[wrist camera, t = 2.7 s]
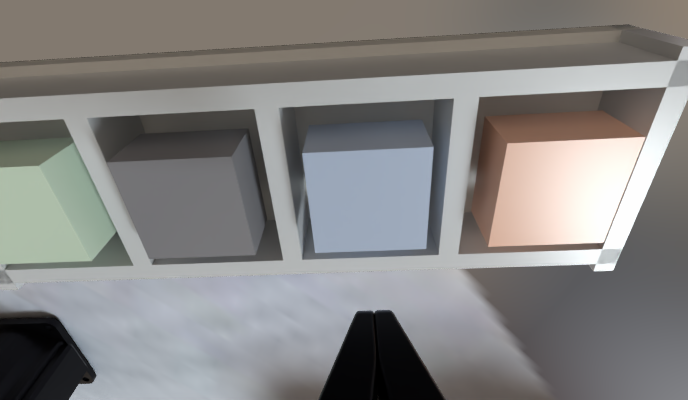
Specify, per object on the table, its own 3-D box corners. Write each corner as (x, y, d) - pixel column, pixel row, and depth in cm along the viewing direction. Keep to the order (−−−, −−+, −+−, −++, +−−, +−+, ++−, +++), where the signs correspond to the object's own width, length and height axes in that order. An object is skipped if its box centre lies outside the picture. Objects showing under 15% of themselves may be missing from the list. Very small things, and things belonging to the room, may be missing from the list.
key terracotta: (471, 210, 16) (487, 246, 14) (484, 116, 14) (507, 143, 12) (571, 206, 16) (603, 242, 14) (602, 110, 14) (645, 137, 12)
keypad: (58, 235, 21) (2, 290, 17) (-42, 65, 16) (-149, 94, 12) (567, 216, 19) (612, 270, 16) (628, 24, 15) (711, 44, 11)
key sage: (31, 228, 17) (-11, 264, 15) (-23, 142, 15) (-82, 171, 13) (122, 224, 17) (91, 261, 15) (81, 136, 15) (39, 165, 13)
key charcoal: (173, 222, 17) (148, 259, 15) (140, 133, 15) (106, 162, 13) (267, 218, 17) (255, 255, 15) (248, 128, 14) (231, 156, 12)
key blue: (319, 216, 16) (315, 252, 14) (308, 125, 14) (302, 153, 12) (416, 212, 16) (426, 249, 14) (421, 119, 14) (433, 146, 12)
